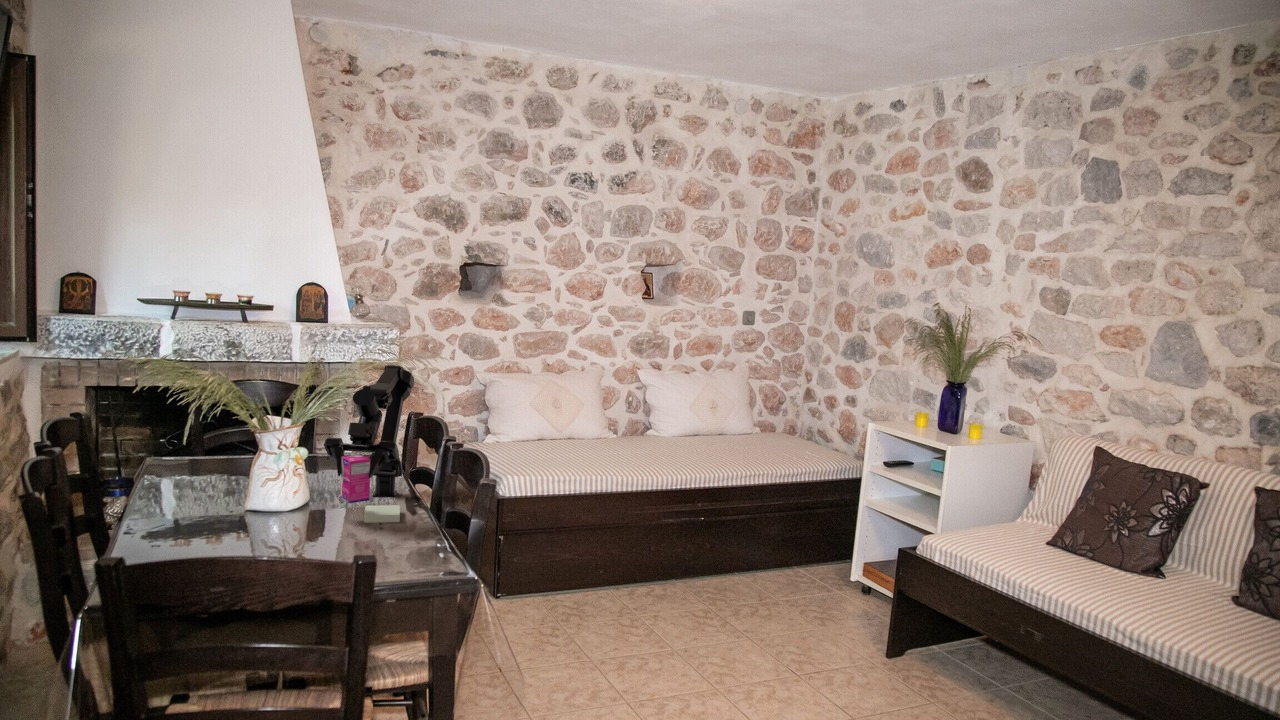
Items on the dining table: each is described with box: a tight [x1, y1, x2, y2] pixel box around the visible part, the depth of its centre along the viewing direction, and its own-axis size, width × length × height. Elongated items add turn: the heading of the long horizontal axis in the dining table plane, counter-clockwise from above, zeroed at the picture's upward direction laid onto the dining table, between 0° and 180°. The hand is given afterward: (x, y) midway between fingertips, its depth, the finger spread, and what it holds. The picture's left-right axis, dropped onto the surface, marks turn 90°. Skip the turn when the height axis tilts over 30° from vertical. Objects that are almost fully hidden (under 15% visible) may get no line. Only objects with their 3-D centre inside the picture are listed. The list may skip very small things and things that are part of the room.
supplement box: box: [340, 453, 371, 504], centre depth 219 cm, size 6×6×12 cm
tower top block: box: [363, 504, 401, 523], centre depth 224 cm, size 9×9×2 cm
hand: (354, 476), depth 218 cm, fingers closed on supplement box, 8 cm apart
